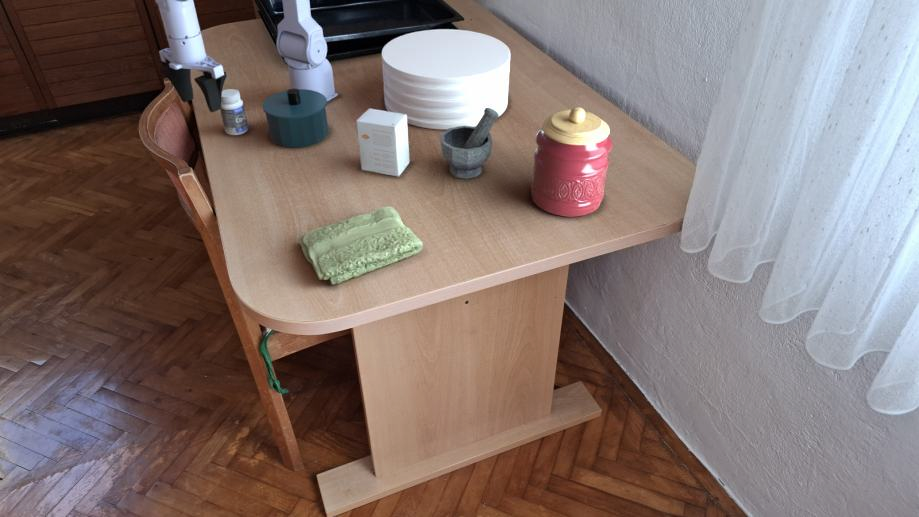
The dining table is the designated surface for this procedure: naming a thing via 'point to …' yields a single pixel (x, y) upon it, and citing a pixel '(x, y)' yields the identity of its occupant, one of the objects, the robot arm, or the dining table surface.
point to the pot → (298, 130)
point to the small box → (383, 142)
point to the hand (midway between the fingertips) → (201, 105)
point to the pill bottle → (233, 112)
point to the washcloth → (359, 245)
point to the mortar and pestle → (468, 146)
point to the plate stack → (445, 77)
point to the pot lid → (294, 104)
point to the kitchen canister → (571, 163)
